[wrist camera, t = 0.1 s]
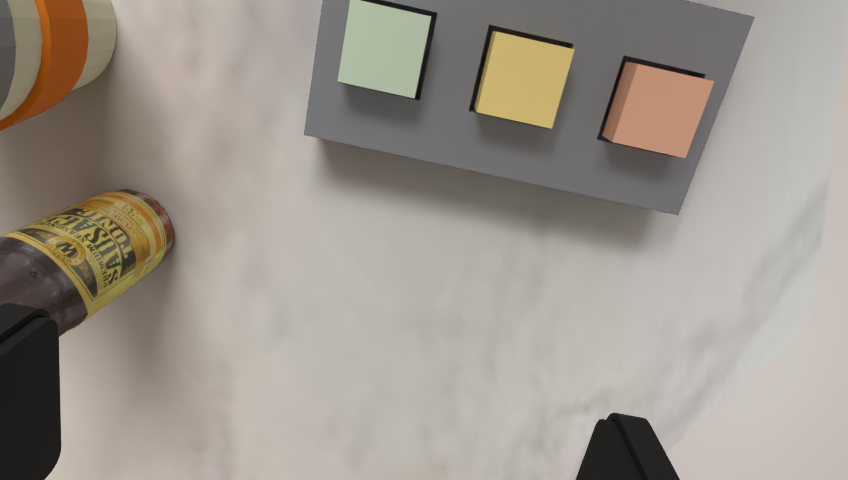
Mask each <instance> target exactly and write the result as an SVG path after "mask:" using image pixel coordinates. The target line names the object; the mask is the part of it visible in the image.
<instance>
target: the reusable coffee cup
mask: <svg viewBox="0 0 848 480" xmlns="http://www.w3.org/2000/svg"><path fill="white" fill-rule="evenodd" d="M116 36H117V31H116V19H115V15H114V11H113V7H112V4H111V1H110V0H0V131H1V130H3V129H6V128H8V127H10V126H12V125H14V124H17V123H19V122H21V121H23V120H26V119H28V118H30V117H32V116H34V115H37V114H39V113H41V112H43V111H46V110H47V109H49V108H51V107H52V106H54V105H56V104H57V103H59V102H61V101H62V100H63V99H64V98H65V97H66V96H67V95H68V94H69V93H70V92H71V91H73V90H75V89H78V88H80V87H82V86H85V85H86V84H88V83H90V82H91V81H93V80H95V79H96V78H97V77H98V76H99V75H100V74H101V73H102V72H103V71H104V70H105V69H106V67H107V65H108V64H109V62H110V60H111V58H112V55H113V52H114V49H115V44H116Z"/></svg>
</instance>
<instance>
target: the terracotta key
mask: <svg viewBox="0 0 848 480" xmlns="http://www.w3.org/2000/svg"><path fill="white" fill-rule="evenodd" d="M713 84H714V81H711V80H706V79H702V78H698V77H693V76H689V75H684V74H680V73H676V72H671V71H667V70H663V69H658V68H654V67H649V66H645V65H641V64H636V63H631V62H626V63H625V66H624V69H623V72H622V75H621V78H620V81H619V84H618V87H617V91H616V94H615V97H614V100H613V103H612V106H611V109H610V112H609V115H608V119H607V122H606V125H605V128H604V131H603V134H602V136H604V137H605V138H607V139H608V140H610V141H611V142H614V143H618V144H623V145H628V146H632V147H637V148H641V149H646V150H650V151H655V152H659V153H664V154H668V155H673V156H677V157H682V158H686V156H687V153H688V150H689V148H690V145H691V142H692V140H693V137H694V134H695V132H696V129H697V126H698V124H699V121H700V119H701V116H702V113H703V111H704V108H705V105H706V103H707V100H708V97H709V95H710V92H711V89H712V87H713Z"/></svg>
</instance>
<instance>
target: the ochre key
mask: <svg viewBox="0 0 848 480" xmlns="http://www.w3.org/2000/svg"><path fill="white" fill-rule="evenodd" d="M574 50H575V49H571V48H566V47H562V46H558V45H553V44H549V43H545V42H540V41H536V40H531V39H527V38H523V37H518V36H514V35H510V34H505V33H501V32H496V31H492V36H491V40H490V44H489V48H488V52H487V56H486V61H485V65H484V69H483V73H482V77H481V81H480V86H479V90H478V94H477V98H476V102H475V106H474V107H475V110H476V112H478V113H482V114H487V115H492V116H496V117H501V118H505V119H510V120H514V121H519V122H523V123H528V124H532V125H537V126H541V127H546V128H550V129H552V126H553V123H554V119H555V116H556V112H557V109H558V106H559V102H560V99H561V95H562V92H563V88H564V85H565V81H566V78H567V75H568V71H569V68H570V64H571V61H572V57H573V54H574Z"/></svg>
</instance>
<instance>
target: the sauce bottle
mask: <svg viewBox="0 0 848 480" xmlns="http://www.w3.org/2000/svg"><path fill="white" fill-rule="evenodd" d="M172 243H173V228H172V225H171V222H170V219H169V217H168V215H167V213H166V212H165V210H164V208H163V207H161V206H160V205H159V203H158V202H157V201H155V200H153V199H152V198H151V197H148V196H146V195H144V194H142V193H139V192H135V191H131V190H128V189H124V190H119V191H115V192H105V193H101V194H99V195H96V196H94V197H92V198H89V199H87V200H85V201H83V202H80V203H78V204H76V205H74V206H71V207H69V208H67V209H64V210H62V211H60V212H57V213H55V214H52V215H50V216H48V217H46V218H43V219H41V220H39V221H37V222H34V223H32V224H30V225H27V226H25V227H23V228H20V229H18V230H15V231H13V232H11V233H8V234H6V235H4V236H2V237H0V305H2V304H5V303H15V304H20V305H26V306H31V307H37V308H42V309H45V310H46V311H47V312H48V313H49V315H50V319H53V320H55V321H56V322H57V324H58V332H59V336H61V335H62V334H64V333H65V332H66V331H68V330H70V329H72V328H74V327H76V326H78V325H79V324H81V323H82V322H83V321H85V320H86V319H87V318H89V317H90V316H91V315H93V314H94V313H95V312H97V311H98V310H100V309H101V308H102V307H104V306H105V305H106V304H108V303H109V302H110V301H112V300H113V299H114V298H116V297H117V296H118V295H120V294H121V293H122V292H124V291H125V290H126V289H128V288H129V287H130V286H131V285H133V284H134V283H135V282H137V281H138V280H139V279H141V278H142V277H143V276H145V275H146V274H147V273H149V272H150V271H151V270H152V269H154V268H155V267H156V266H157V265H158V264H159V263H160V261H161V260H163V259H164V258H165V257H166V256H167V254H168V253H169V251H170V249H171V246H172Z"/></svg>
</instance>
